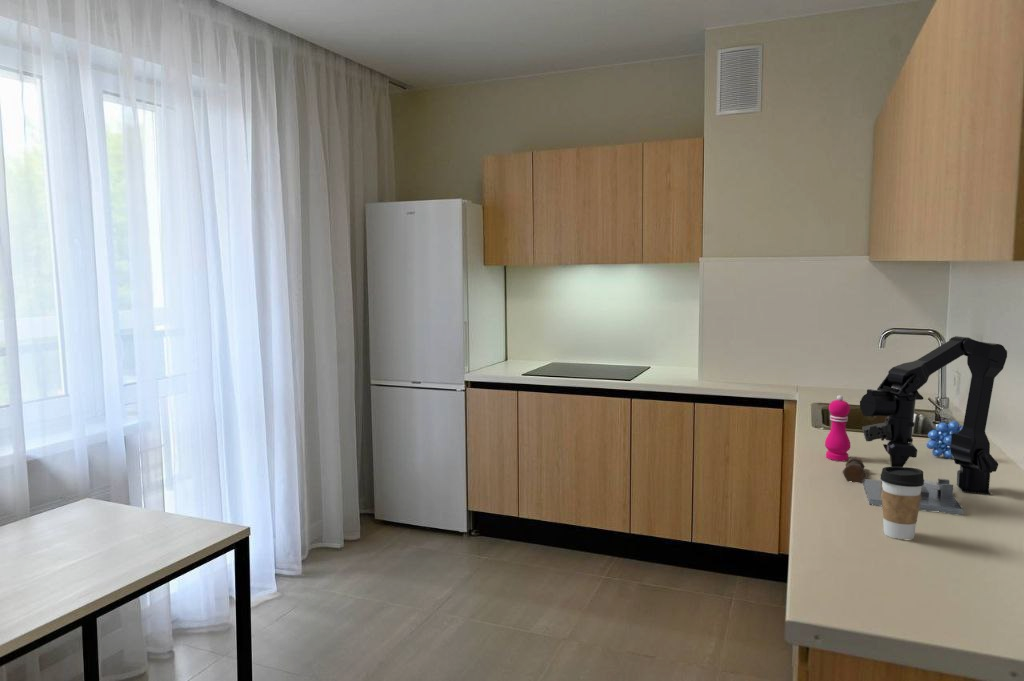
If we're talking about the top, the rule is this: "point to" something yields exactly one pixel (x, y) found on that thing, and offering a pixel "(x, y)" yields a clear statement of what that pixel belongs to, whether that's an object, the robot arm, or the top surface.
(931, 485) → the strap
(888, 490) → the coffee cup
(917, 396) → the robot arm
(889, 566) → the top surface
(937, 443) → the grapes
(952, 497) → the base
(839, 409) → the pepper mill
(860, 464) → the bolt
